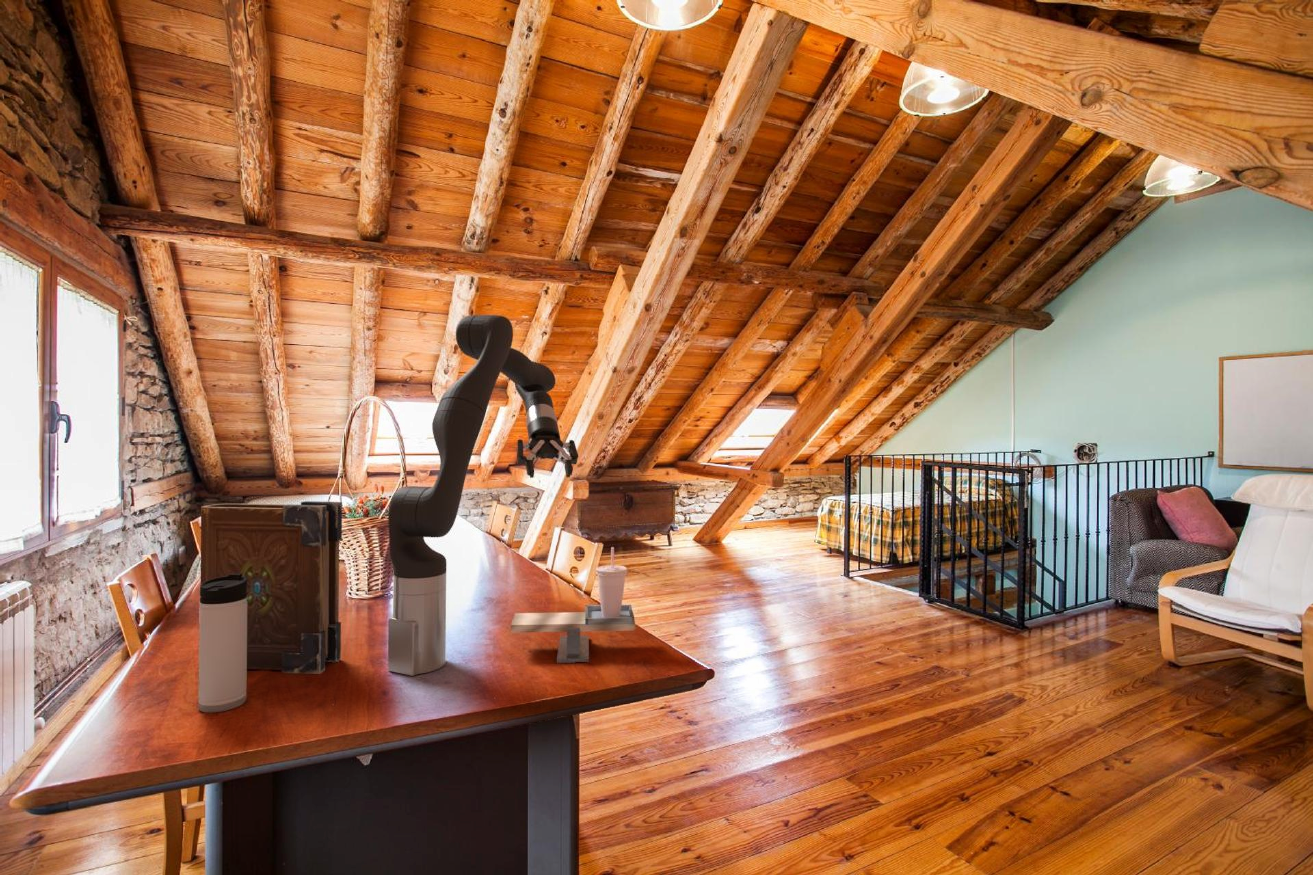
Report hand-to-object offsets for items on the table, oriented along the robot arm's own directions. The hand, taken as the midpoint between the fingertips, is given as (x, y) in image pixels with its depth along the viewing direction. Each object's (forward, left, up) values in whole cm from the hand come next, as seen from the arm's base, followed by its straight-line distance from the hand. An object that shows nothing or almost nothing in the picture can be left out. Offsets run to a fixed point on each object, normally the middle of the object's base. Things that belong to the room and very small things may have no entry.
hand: (550, 475), depth 147 cm
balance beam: (-15, -16, -29) cm, 36 cm away
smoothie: (-11, -22, -27) cm, 37 cm away
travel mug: (-61, +20, -34) cm, 73 cm away
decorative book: (-47, +30, -34) cm, 65 cm away
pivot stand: (-15, -16, -34) cm, 40 cm away
